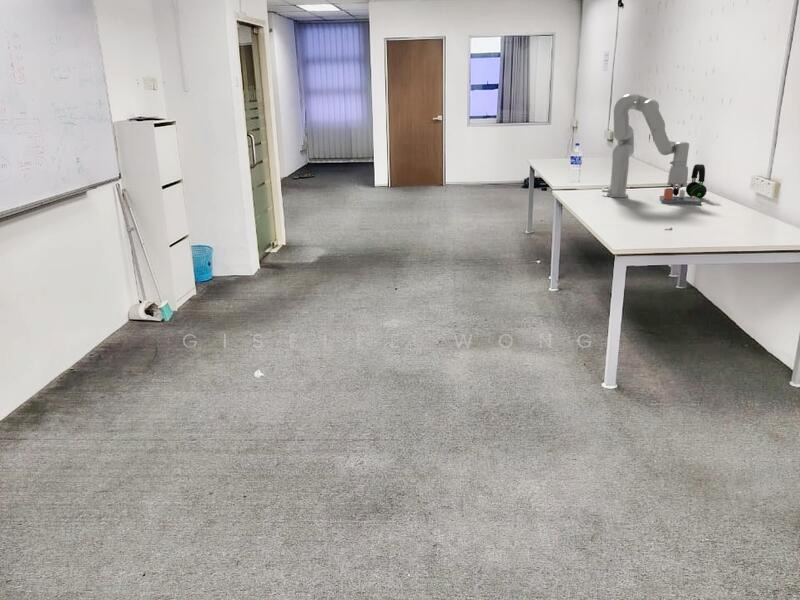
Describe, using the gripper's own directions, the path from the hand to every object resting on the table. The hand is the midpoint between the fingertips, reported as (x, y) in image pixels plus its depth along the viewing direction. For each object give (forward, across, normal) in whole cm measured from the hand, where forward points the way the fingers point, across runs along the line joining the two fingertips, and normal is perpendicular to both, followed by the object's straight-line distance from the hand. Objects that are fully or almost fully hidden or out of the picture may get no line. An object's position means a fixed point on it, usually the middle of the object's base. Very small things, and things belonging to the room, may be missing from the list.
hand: (675, 195), depth 374 cm
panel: (+3, +2, -3) cm, 5 cm away
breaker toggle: (+1, +3, 0) cm, 4 cm away
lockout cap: (+1, -5, -6) cm, 8 cm away
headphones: (+4, +13, +14) cm, 19 cm away
